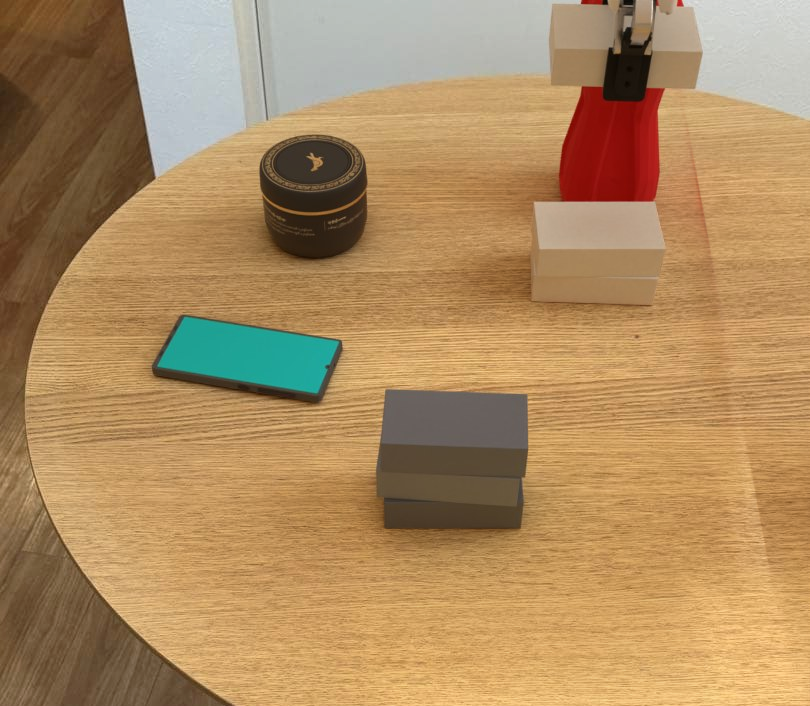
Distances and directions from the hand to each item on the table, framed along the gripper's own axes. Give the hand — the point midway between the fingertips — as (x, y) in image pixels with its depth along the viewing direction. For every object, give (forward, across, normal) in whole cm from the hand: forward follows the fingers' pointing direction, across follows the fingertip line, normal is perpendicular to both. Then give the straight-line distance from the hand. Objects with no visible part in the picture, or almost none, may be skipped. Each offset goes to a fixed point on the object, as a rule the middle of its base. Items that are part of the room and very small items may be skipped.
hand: (619, 71), depth 91 cm
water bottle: (+21, +14, -2) cm, 25 cm away
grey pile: (+20, -28, +12) cm, 36 cm away
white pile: (+20, 0, 0) cm, 20 cm away
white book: (-1, 0, 0) cm, 1 cm away
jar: (+21, +6, +26) cm, 34 cm away
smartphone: (+20, -13, +30) cm, 38 cm away
